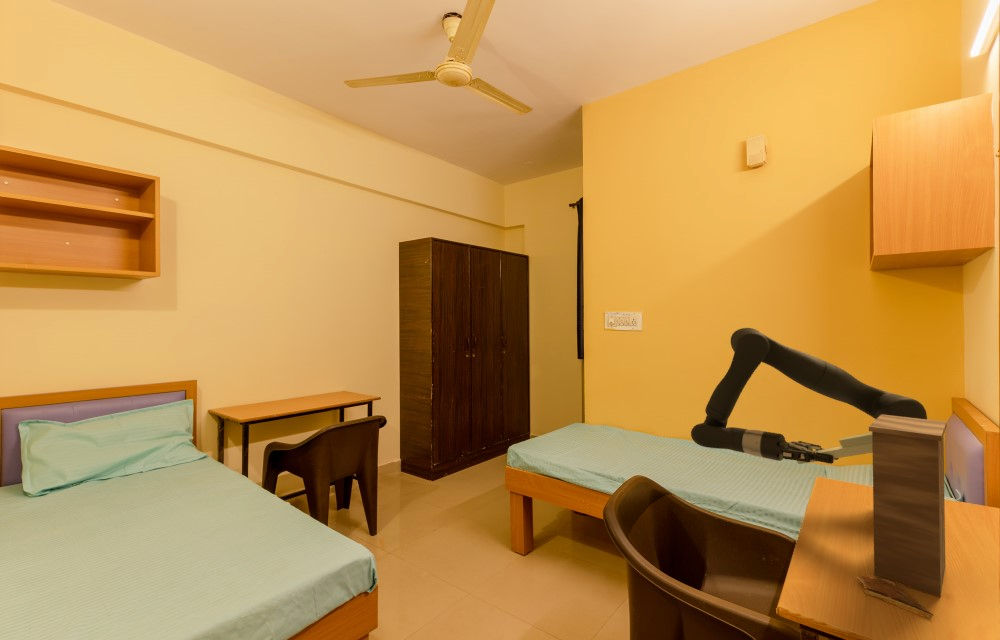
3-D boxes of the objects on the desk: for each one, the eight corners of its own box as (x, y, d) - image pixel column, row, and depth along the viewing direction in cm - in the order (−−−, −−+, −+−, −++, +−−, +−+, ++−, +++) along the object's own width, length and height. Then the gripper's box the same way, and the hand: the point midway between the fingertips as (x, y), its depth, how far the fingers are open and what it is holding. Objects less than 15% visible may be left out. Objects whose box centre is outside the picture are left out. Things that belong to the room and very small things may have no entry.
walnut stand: (883, 547, 105) (881, 414, 105) (948, 566, 97) (946, 421, 97) (871, 575, 94) (868, 426, 94) (944, 599, 86) (941, 436, 86)
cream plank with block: (805, 460, 122) (797, 446, 123) (888, 446, 106) (879, 430, 107) (798, 464, 120) (791, 449, 121) (883, 451, 104) (873, 434, 105)
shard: (934, 623, 80) (933, 613, 80) (885, 617, 81) (885, 607, 81) (894, 587, 90) (894, 579, 90) (851, 583, 92) (851, 574, 92)
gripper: (753, 435, 123) (828, 448, 110) (772, 427, 132) (843, 438, 119) (754, 462, 122) (828, 478, 109) (772, 452, 132) (843, 466, 119)
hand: (835, 457), depth 114 cm, fingers closed on cream plank with block, 4 cm apart
